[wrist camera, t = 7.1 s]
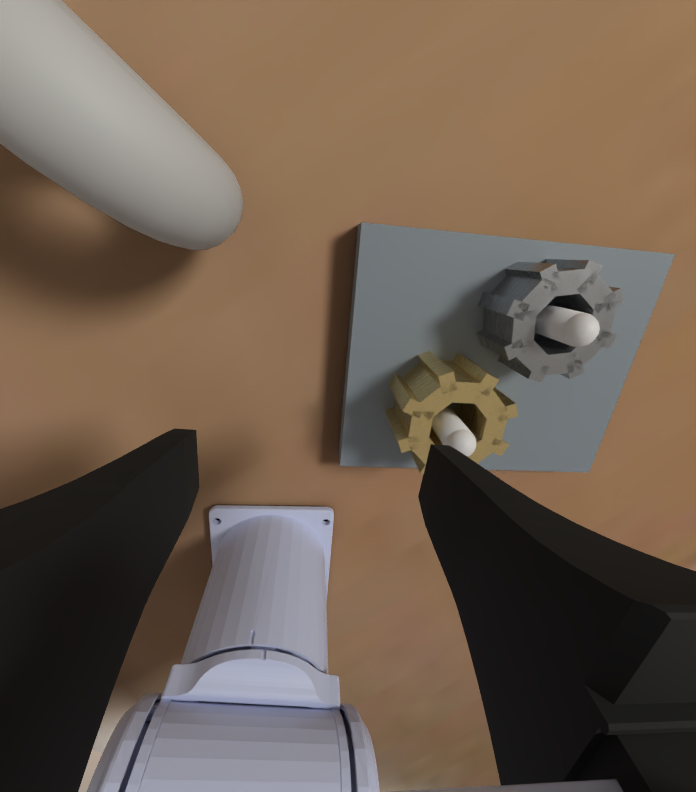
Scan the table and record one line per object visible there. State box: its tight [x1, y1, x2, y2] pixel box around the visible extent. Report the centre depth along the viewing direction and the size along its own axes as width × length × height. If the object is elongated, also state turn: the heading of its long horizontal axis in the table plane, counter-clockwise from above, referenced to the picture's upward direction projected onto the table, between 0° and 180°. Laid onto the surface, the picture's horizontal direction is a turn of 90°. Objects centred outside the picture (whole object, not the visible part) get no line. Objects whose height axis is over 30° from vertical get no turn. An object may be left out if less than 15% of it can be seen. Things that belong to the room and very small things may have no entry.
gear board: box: [339, 222, 675, 472], centre depth 18 cm, size 13×16×6 cm
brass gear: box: [385, 351, 518, 474], centre depth 18 cm, size 6×6×4 cm
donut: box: [0, 0, 243, 250], centre depth 11 cm, size 10×3×10 cm, turn 47°
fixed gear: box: [476, 259, 624, 383], centre depth 17 cm, size 5×5×3 cm
